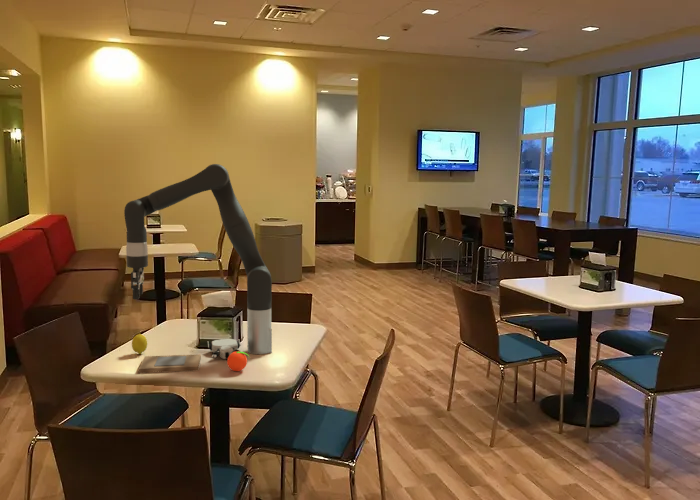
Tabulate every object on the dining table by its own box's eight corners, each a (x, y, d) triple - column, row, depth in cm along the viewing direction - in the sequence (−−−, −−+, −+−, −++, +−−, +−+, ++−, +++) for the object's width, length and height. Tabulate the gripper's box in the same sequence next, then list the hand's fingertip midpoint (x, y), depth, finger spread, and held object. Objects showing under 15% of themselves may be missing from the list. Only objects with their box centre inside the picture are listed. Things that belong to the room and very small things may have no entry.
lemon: (142, 356, 223) (141, 336, 222) (129, 355, 224) (128, 335, 223) (150, 352, 228) (149, 332, 227) (137, 351, 230) (136, 331, 228)
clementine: (251, 367, 213) (251, 348, 212) (248, 374, 206) (248, 354, 206) (229, 367, 213) (229, 348, 212) (225, 374, 206) (225, 354, 205)
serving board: (200, 358, 223) (200, 353, 223) (198, 370, 209) (198, 365, 209) (144, 360, 219) (144, 355, 219) (138, 373, 205) (138, 368, 205)
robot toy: (244, 361, 222) (239, 347, 236) (244, 350, 222) (239, 336, 236) (210, 364, 219) (207, 349, 233) (210, 353, 218) (207, 338, 232)
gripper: (144, 256, 214) (145, 300, 217) (150, 251, 228) (151, 292, 230) (122, 256, 213) (124, 301, 215) (129, 251, 227) (130, 293, 229)
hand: (138, 296), depth 223 cm, fingers open, 8 cm apart
